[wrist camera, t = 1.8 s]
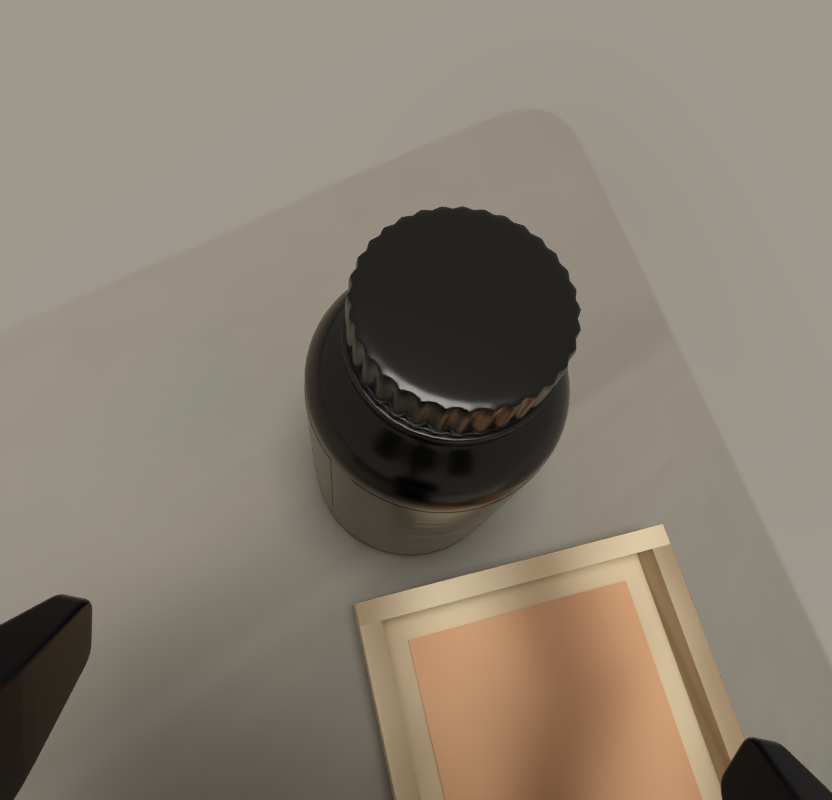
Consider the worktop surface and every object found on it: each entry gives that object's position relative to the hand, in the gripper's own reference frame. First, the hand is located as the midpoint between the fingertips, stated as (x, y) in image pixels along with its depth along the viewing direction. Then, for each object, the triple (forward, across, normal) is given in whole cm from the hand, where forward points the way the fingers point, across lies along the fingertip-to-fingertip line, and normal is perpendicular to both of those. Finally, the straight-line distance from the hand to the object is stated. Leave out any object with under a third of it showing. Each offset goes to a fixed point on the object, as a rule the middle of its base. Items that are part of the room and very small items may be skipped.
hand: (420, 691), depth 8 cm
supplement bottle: (+14, 0, +5) cm, 15 cm away
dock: (+9, -6, +10) cm, 15 cm away
